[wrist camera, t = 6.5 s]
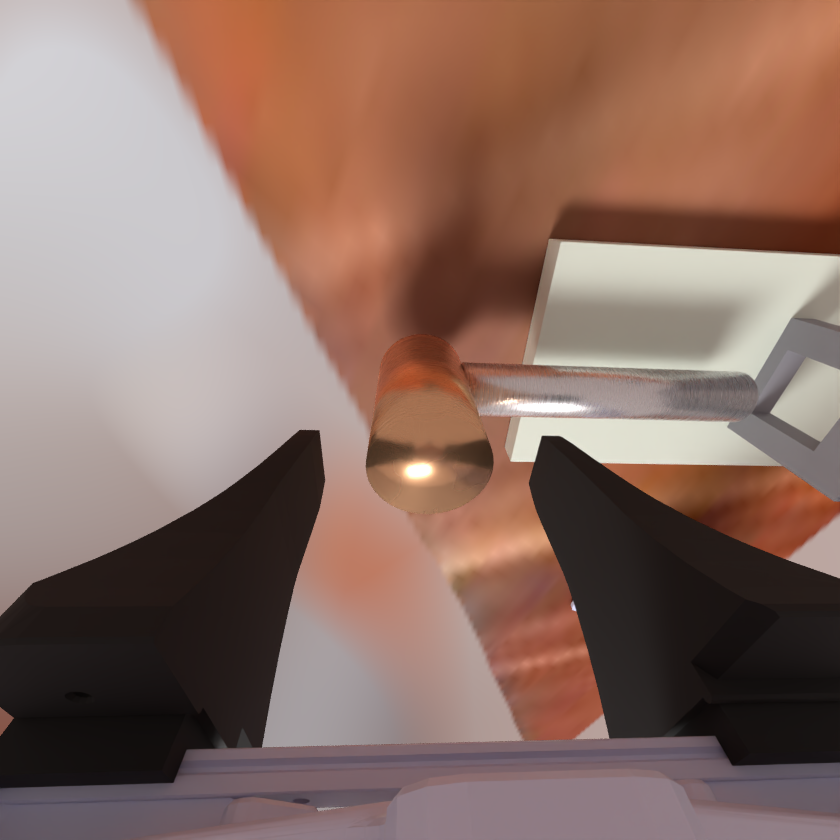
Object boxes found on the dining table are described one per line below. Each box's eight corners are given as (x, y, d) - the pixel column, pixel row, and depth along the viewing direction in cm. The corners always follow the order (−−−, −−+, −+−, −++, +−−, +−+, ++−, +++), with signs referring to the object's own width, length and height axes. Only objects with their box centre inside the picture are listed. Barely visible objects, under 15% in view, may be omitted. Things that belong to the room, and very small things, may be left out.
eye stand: (795, 452, 24) (940, 544, 18) (504, 447, 23) (544, 543, 16) (938, 259, 18) (1243, 291, 11) (549, 238, 17) (641, 260, 10)
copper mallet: (692, 417, 19) (828, 517, 13) (380, 409, 18) (367, 513, 12) (729, 345, 17) (911, 425, 11) (379, 332, 16) (363, 411, 10)
